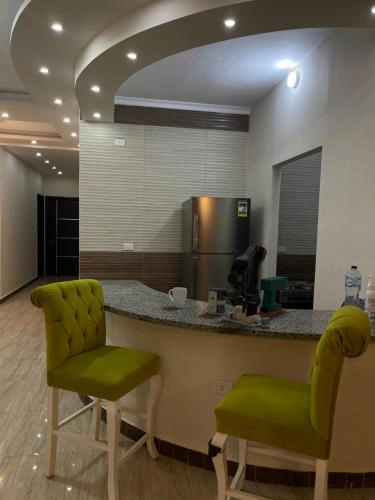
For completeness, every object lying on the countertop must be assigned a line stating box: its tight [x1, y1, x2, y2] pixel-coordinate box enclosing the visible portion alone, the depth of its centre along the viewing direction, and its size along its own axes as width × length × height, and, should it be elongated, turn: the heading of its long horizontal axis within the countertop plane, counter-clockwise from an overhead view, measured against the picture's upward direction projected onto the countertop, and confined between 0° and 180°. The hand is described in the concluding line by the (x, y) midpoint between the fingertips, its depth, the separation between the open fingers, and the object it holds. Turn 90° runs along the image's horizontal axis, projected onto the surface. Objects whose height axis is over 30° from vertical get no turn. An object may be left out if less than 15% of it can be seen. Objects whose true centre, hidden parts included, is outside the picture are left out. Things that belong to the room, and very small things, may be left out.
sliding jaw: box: [245, 314, 271, 326], centre depth 184 cm, size 9×10×3 cm
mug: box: [168, 286, 188, 309], centre depth 222 cm, size 12×8×11 cm
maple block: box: [232, 305, 247, 320], centre depth 193 cm, size 4×6×6 cm, turn 134°
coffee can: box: [207, 286, 228, 316], centre depth 209 cm, size 10×10×14 cm
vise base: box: [222, 311, 262, 328], centre depth 191 cm, size 10×20×4 cm, turn 44°
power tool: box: [258, 275, 289, 316], centre depth 222 cm, size 32×7×20 cm, turn 141°
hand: (239, 311), depth 193 cm, fingers open, 5 cm apart
